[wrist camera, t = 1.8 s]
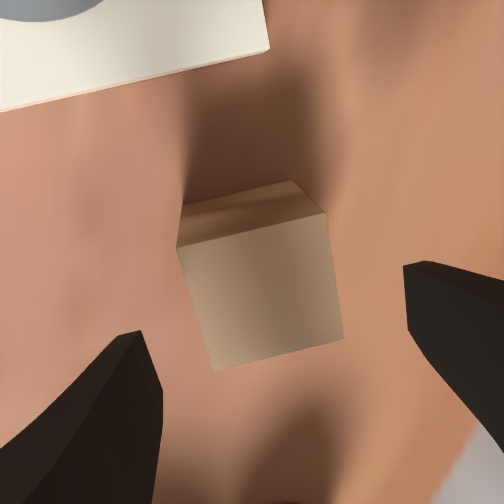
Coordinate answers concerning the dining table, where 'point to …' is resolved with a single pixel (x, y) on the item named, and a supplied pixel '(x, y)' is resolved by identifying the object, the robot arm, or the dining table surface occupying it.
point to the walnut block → (259, 273)
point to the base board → (116, 43)
